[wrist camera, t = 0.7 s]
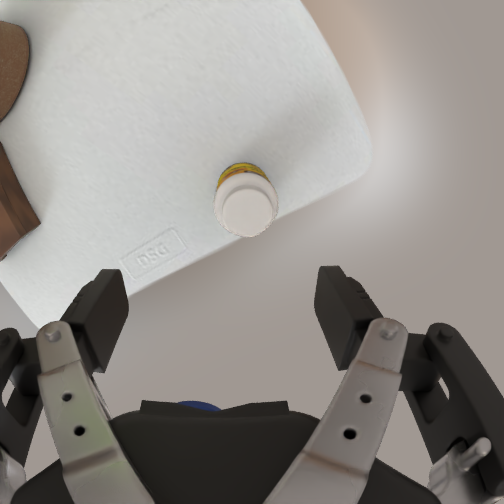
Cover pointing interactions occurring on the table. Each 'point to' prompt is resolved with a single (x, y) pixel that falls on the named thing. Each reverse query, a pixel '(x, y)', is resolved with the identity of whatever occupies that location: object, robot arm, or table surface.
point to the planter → (11, 63)
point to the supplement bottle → (245, 200)
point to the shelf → (13, 209)
